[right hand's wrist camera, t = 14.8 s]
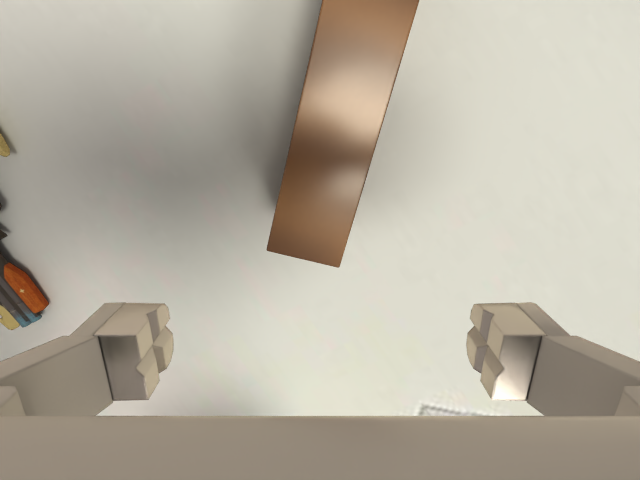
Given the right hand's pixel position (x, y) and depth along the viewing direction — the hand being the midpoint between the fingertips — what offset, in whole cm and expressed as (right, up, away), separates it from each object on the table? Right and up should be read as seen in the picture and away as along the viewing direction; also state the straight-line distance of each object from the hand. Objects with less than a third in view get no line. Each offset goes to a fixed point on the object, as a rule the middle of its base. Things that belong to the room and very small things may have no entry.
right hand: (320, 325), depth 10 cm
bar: (+2, +14, +20) cm, 24 cm away
